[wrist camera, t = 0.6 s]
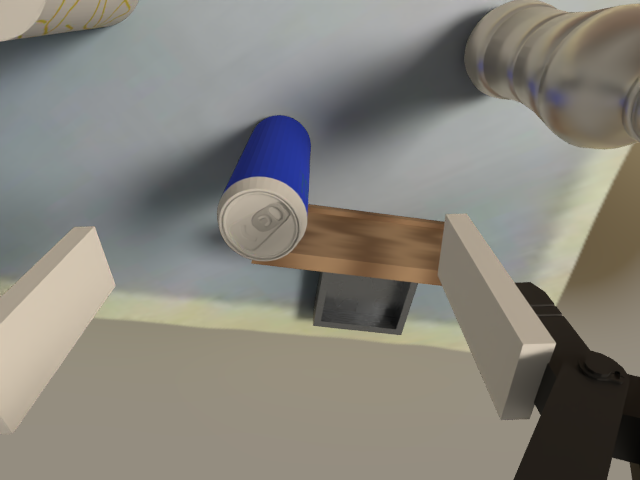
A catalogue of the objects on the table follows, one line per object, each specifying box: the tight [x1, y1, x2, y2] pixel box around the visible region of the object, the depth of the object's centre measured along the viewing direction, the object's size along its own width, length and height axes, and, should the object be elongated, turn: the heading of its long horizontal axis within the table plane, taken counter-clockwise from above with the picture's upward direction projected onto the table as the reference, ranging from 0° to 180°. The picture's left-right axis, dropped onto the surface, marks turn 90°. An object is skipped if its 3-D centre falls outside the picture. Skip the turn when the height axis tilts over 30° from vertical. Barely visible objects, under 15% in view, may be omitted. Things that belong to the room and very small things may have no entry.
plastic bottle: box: [464, 0, 640, 149], centre depth 23 cm, size 6×7×20 cm
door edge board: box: [252, 204, 445, 286], centre depth 36 cm, size 18×2×8 cm, turn 82°
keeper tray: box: [313, 271, 418, 335], centre depth 42 cm, size 9×9×2 cm
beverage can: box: [217, 115, 311, 261], centre depth 29 cm, size 5×5×15 cm
